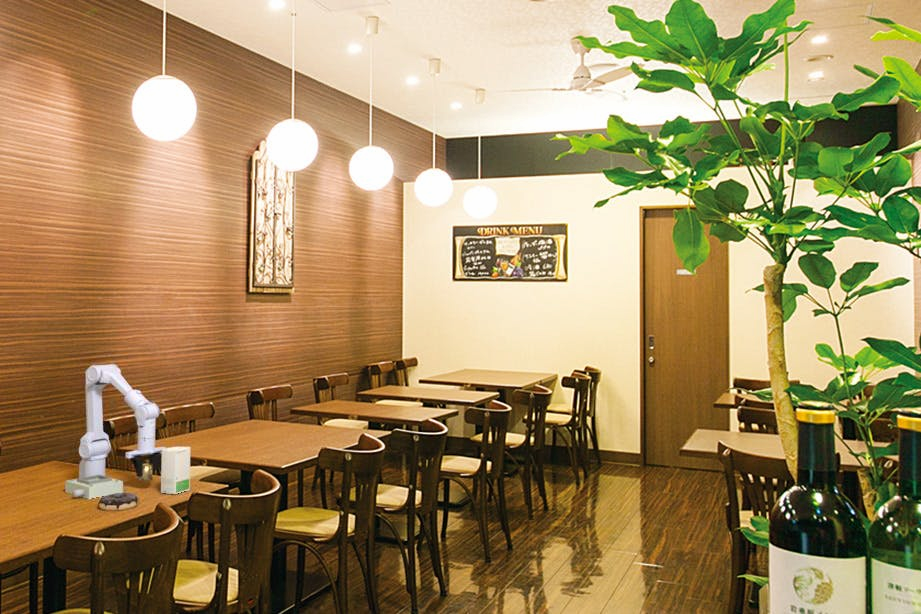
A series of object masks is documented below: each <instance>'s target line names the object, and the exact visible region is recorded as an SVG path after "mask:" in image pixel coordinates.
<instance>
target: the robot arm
mask: <svg viewBox="0 0 921 614" xmlns="http://www.w3.org/2000/svg"><path fill="white" fill-rule="evenodd" d="M109 384H111V385H112V386H113V387H114V388H116V390H118V391H119V392H120V393H121V394H122V395H123V396H124V398H123V399H124V402H125V404H127V405H128V406H129V407H130V408H131V410H133V411H134V413H133V414H134V418H135V419H136V424H137V449H134V450H132V451H127V452H126V451H125V458H126V459H129V460H130V461H131V462H132V465H133V467H134V470H135V475H136V477H138V478H139V477H142V466H143V464H144V461H145V458H143V457H144V456H147V457H148V461H149V462H148V463H150V464H153V472H152V476H154V475H155V474H156V470H157V467H158V465H159V462H160V460H162V449H166V448H167V447H166V446H157V447H156V419H157V418H158V417H159V415H160V408H159V406H158V404H156V403H154V402H151V401H149V400H148V399H147V398H146V397H145V396H144V394H142V391H141V390H138V389H133V388H132V386H131V385H130V384H129V383H128V382H127V380H126V379H125V377H123V375H122V370H121V369H120V368H119V366H118V365H116V364H114V363H110V364H98V365H97V364H96V365H95V364H92V365H90V366H89V367H88V368H87V369H86V370H85V387H84V388H85V416H86V417H85V418H86V420H85V421H86V433H85V434H84V435H83V436H82V437H81V438H80V439H79V440H80V445H79V447H78V454H79V457H80V458H81V460H80V461H79V465H78V470H79V471H78V478H83V477H89V476H95V475H103V476H106V458H107V457H108V454H109V453H110V452H111V448H112V446H111V442H110V440H109V439H110V437H109V435H108V434H107V433H106V432H104V425H103V424H104V422H103V421H104V419H103V418H104V415H103V389H104V388H105V387H106V386H107V385H109Z"/></svg>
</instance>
